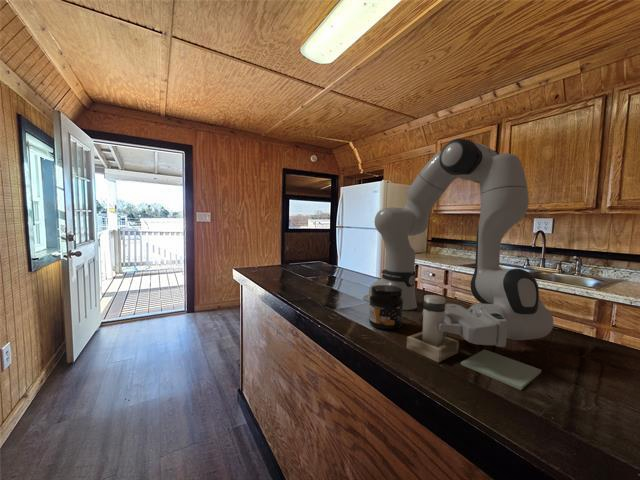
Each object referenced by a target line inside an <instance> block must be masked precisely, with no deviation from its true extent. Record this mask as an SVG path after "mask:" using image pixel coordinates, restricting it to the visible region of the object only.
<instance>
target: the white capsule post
mask: <svg viewBox="0 0 640 480" xmlns="http://www.w3.org/2000/svg"><path fill="white" fill-rule="evenodd" d="M445 304H446V297H444V296H443V295H436V294H425V295H424V296H423V305H422V306H423V310H424V312H423V311H422V312H423V315H422V318H423V319H422V332H423V333H422V341H423V342H425V343H428V344H430V345H433V346H435V347H440V346H442V345H443V336H444V333H445V332H441V331H440V330H439V329H438V328H437V327H438V323H439V322H441V323H442V322H444V315H445Z"/></svg>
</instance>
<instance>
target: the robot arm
mask: <svg viewBox="0 0 640 480" xmlns="http://www.w3.org/2000/svg"><path fill="white" fill-rule="evenodd" d="M526 177H527V176H526V173H525V170H524V166H523V164H522V162H521V159H520V158H519V157H518V156H517V155H515V154H512V153H499V152H498V151H496V150H494V149H492V148H490V146H487V145H484V144H481V143H478V142H475V141H472V140H470V139H466V138H455V139H452V140H450V141H449V142H448V143H446V144H445V145H444V147H443V148H442V149H441V150H439V151H438V152H436V153H435V154H434V155H433V156H432V157H431V158H430V160H428V162H426V163H425V165H424V166H423V167H422V169H421V170H420V172H419V173H418V175H417V176H416V177H415V179H414V180H413V182H411V184H410V186H409V187H408V189H407V193H406V194H407V198H408V199H407V202H406V204H405V205H404V206H403V207H392V206H391V207H386V208H383V209H380V210H378V211H377V213H376V215H375V216H374V226H375V230H376V231H377V232H378V233H379V234H380V236H381V237H382V239H383V242H384V246H385V268H384V270H383V269H382V270H381V271H380V274H382V276H381V277H380V278H379V279H378V280H377V281H374V282H373V283H371V285H370V287H369V289H368V294H366V295H364V296H363V297H362V299H364V300H363V301H365V302H368V303H370V296H371V295H372V293H371V289H372V287H373V286H376V285H389V286H395V287H398V288H401V289H402V296H401V298H402V299H403V310H402V311H411V310H415V309H418V305H417V304H418V303H417V300H416V294H415V293H416V291H415V284H416V271H415V267H416V251H415V249H414V248H413V247H412V246H411V243H410V240H409V237H411V236H412V237H413V236H417V235H420V234H422V233H424V232H426V230H427V229H428V227H429V216H430V213H431V211H432V210H433V207H434V206H435V204H436V203H437V202H438V200H439V199H441V196H442V195H443V194H444V193H445V192H446V191H447V189H448V187H449V186H450V185H451V184H452V183H453V182H454V181H455V180H456V179H461V180H465V181H471V182H474V183H476V184H479V190H480V193H479V194H480V214H479V220H478V224H477V229H476V242H475V244H476V245H475V266H474V271H473V275H472V277H471V281H470V291H471V293H472V295H473V297H474V298H475V300H476V301H477V302H478V303H473V304H472V305H470V307H469V308H466V307H464V306H462V305H460V304H455V303H446V304H445V315H444V322H442V323H441V322H439V323H438V327H437V328H438V329H439V330H440V331H441V332H444V333H450V334H454V335H459V336H460V337H461V338H463V339H464V340H465V341H466V342H468V343H470V344H474V345H478V346H479V345H481V346H495V347H498V348H505V347H507V346H506V344H507V339H510V340H514V341H515V340H518V341H524V340H525V341H526V340H529V341H530V340H536V339H538V340H539V339H541V338H545V337H546V336H548V335H549V334H550V333H551V332H552V331H553V328H554V318H553V315H552V312H551V311H550V310H549V309H548V308H547V307H546V306H545V305H544V304H543V302H542V299H541V297H540V294H539V293H540V291H539V288H540V287H539V284H538V281H537V279H536V278H535V277H534V276H533V275H532V274H531V273H530V272H529V271H527V270H525V269H522V268H507V269H500V261H501V260H500V256H501V255H500V254H501V243H502V240H503V238H504V236H505V235H506V234H507V232H508V231H509V230H510V229H512V228H513V227H514V226H516V225H517V224H518V223H519V222H520V221H521V220H522V219H523V218H525V215H527V212H528V209H529V208H528V207H529V199H530V198H529V191H528V189H529V188H528V182H527V178H526ZM421 312H422V313H421V315H422V316H423V312H424V309H423V310H422V311H421Z"/></svg>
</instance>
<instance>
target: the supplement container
mask: <svg viewBox="0 0 640 480" xmlns="http://www.w3.org/2000/svg"><path fill="white" fill-rule="evenodd" d="M371 293H372V295H371V296H370V302H369V317H368V321H369V324H370V325H371V326H372V327H374V328H376V329H379V330H384V331H393V330H394V331H395V330H398V329H400V328H401V327H402V326H403V311H404V310H403V299H402V298H401V296H402V289H401V288H398V287H395V286H389V285H376V286H373V287H372V289H371Z"/></svg>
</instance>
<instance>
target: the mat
mask: <svg viewBox="0 0 640 480" xmlns="http://www.w3.org/2000/svg"><path fill="white" fill-rule="evenodd" d="M460 365H461V366H463V367H466V368H468V369H470V370H473V371H475V372H477V373H480V374H482V375H484V376H487V377H490V378H491V379H493V380H495V381H499V382H501V383H504V384H506V385H507V386H510V387H513V388H515V389H517V390H519V391H521V390H524V388H525V387H526V386H527V385H528V384H530V383H531V382H532V381H533V380H534V379H535V378H536V377H537V376H539V375H540V374H541V373H542V369H540V368H537V367H535V366H532V365H530V364H529V365H528V364H526V363H524V362H521V361H518V360H515V359H513V358H510V357H507V356H504V355H501V354H498V353H496V352H492V351H491V350H490V351H489V350H487V349H483V350H481V351H479V352H477V353H475V354H473V355H472V356H470V357H468V358H465V359H464V360H462V361H460Z"/></svg>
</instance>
